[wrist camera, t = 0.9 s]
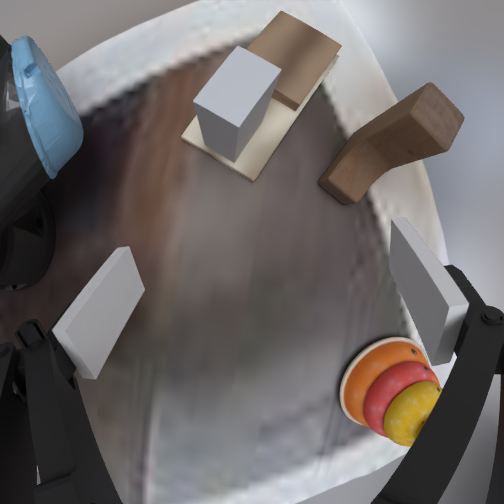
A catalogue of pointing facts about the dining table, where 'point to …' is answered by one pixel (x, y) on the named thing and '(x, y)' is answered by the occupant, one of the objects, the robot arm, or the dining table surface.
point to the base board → (257, 141)
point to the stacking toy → (390, 389)
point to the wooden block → (393, 142)
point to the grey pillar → (235, 102)
